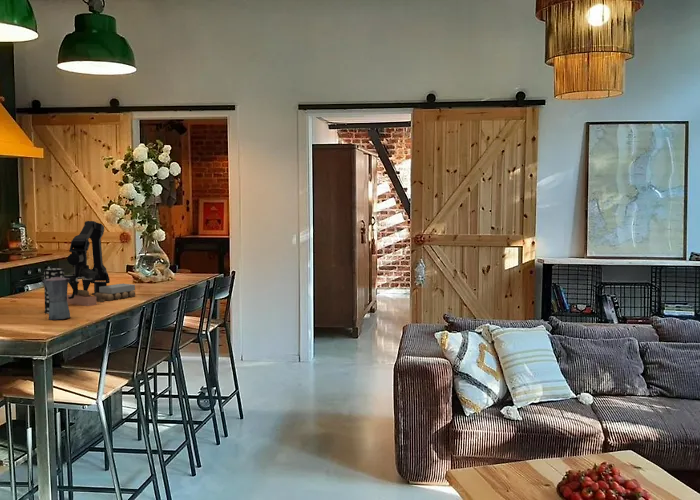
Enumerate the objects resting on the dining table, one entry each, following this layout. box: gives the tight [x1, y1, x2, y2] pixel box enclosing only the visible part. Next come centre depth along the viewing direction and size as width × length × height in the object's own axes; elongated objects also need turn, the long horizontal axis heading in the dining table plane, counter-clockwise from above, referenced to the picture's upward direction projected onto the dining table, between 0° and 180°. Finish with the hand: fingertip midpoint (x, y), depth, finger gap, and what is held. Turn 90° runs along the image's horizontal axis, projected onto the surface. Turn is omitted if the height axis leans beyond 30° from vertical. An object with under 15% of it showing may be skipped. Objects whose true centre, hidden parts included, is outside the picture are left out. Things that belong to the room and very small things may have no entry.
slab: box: [99, 283, 136, 294], centre depth 349 cm, size 9×16×3 cm, turn 153°
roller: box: [78, 289, 90, 297], centre depth 328 cm, size 8×3×3 cm, turn 63°
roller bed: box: [94, 290, 136, 303], centre depth 343 cm, size 10×28×4 cm, turn 153°
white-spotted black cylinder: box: [43, 267, 65, 315], centre depth 303 cm, size 8×8×20 cm
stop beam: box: [67, 293, 98, 307], centre depth 328 cm, size 16×5×4 cm, turn 63°
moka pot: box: [41, 273, 79, 321], centre depth 289 cm, size 10×15×20 cm, turn 95°
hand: (80, 294), depth 328 cm, fingers open, 5 cm apart
